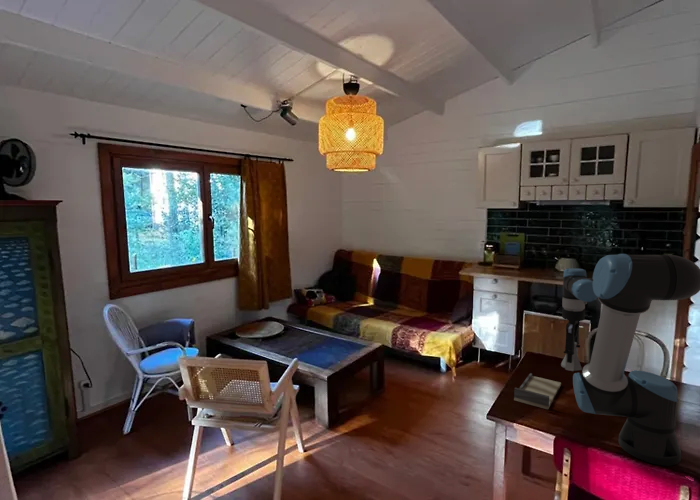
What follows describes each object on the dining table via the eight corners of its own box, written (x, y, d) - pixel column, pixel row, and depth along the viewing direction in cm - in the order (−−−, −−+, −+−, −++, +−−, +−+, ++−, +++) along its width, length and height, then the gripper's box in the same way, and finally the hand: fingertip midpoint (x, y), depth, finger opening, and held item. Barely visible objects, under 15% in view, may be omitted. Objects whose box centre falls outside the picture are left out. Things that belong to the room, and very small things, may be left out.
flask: (576, 364, 155) (577, 339, 154) (585, 371, 148) (587, 345, 147) (557, 363, 156) (558, 339, 155) (565, 371, 149) (566, 345, 148)
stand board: (548, 409, 144) (548, 397, 143) (514, 400, 151) (514, 388, 151) (560, 385, 163) (561, 374, 162) (530, 378, 170) (530, 367, 170)
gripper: (580, 316, 140) (578, 378, 142) (588, 305, 155) (586, 360, 158) (557, 313, 144) (555, 373, 146) (567, 302, 160) (565, 357, 162)
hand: (571, 366), depth 152 cm, fingers closed on flask, 7 cm apart
